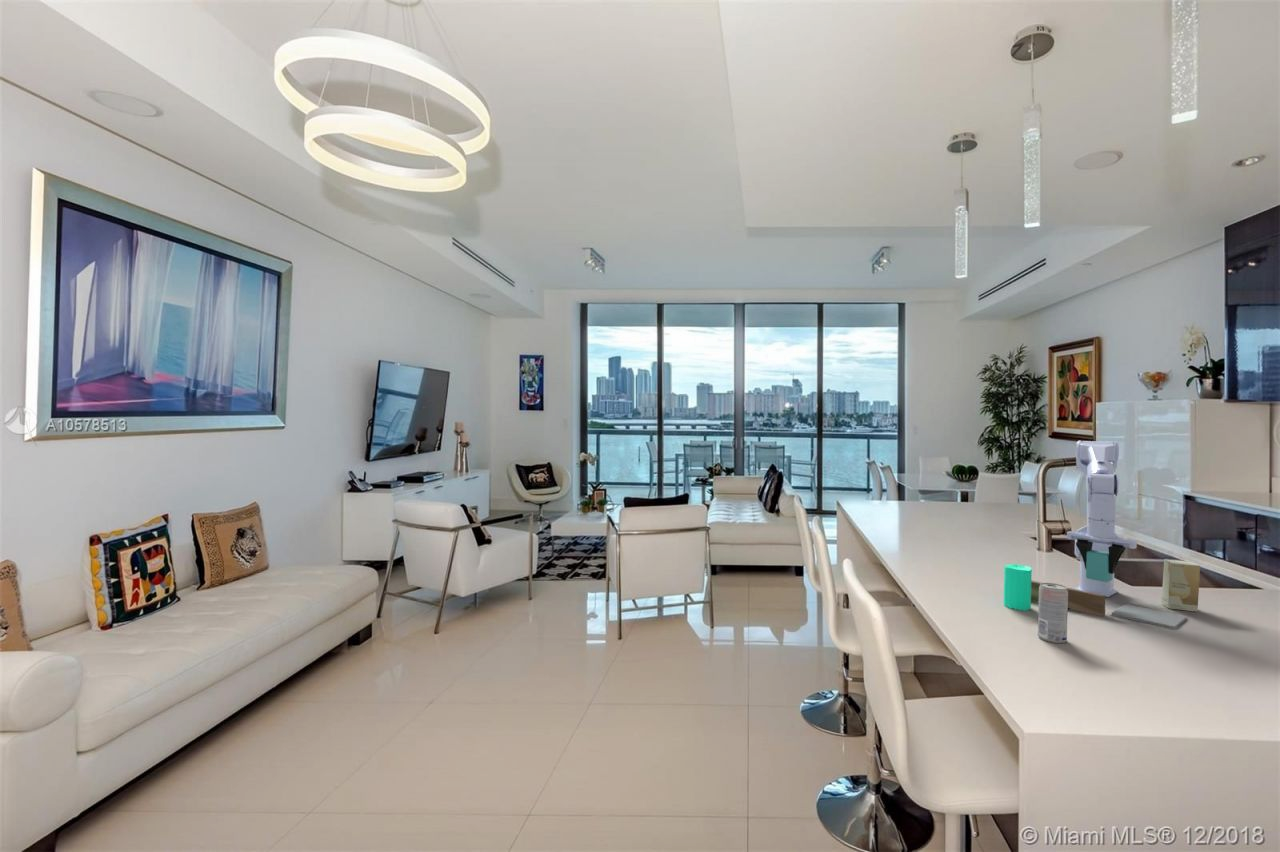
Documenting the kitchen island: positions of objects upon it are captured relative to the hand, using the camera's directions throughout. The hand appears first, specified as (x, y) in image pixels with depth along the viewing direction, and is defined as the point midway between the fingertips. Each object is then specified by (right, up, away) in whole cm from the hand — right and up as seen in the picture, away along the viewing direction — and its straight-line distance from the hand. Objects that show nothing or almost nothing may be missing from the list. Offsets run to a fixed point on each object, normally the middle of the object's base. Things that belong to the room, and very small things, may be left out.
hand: (1099, 570), depth 156 cm
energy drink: (-29, -10, -23) cm, 38 cm away
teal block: (0, -2, 0) cm, 2 cm away
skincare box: (+21, -10, -1) cm, 23 cm away
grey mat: (+6, -10, -8) cm, 14 cm away
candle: (-22, -9, -1) cm, 24 cm away
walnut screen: (-11, -9, +1) cm, 14 cm away
